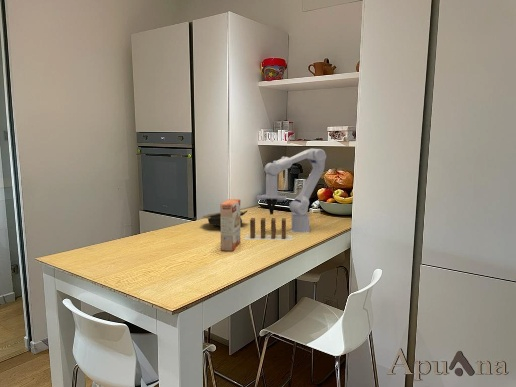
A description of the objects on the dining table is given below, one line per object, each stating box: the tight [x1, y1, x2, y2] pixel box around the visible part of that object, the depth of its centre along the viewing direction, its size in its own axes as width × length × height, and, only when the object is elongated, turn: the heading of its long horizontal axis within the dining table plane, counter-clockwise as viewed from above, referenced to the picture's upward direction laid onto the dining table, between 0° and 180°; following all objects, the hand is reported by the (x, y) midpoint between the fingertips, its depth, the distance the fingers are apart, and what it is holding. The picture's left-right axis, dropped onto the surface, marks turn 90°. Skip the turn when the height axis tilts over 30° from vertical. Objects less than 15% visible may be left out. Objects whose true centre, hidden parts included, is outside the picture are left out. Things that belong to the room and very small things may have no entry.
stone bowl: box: [202, 210, 248, 227], centre depth 216 cm, size 25×25×9 cm
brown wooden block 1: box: [249, 217, 256, 239], centre depth 190 cm, size 2×5×9 cm, turn 174°
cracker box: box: [219, 198, 241, 252], centre depth 175 cm, size 14×6×21 cm, turn 168°
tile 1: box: [281, 217, 287, 239], centre depth 189 cm, size 2×5×9 cm, turn 174°
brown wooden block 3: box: [270, 217, 277, 239], centre depth 189 cm, size 2×5×9 cm, turn 174°
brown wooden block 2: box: [260, 217, 266, 239], centre depth 190 cm, size 2×5×9 cm, turn 174°
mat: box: [243, 234, 293, 241], centre depth 190 cm, size 23×9×1 cm, turn 84°
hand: (271, 214), depth 197 cm, fingers closed
